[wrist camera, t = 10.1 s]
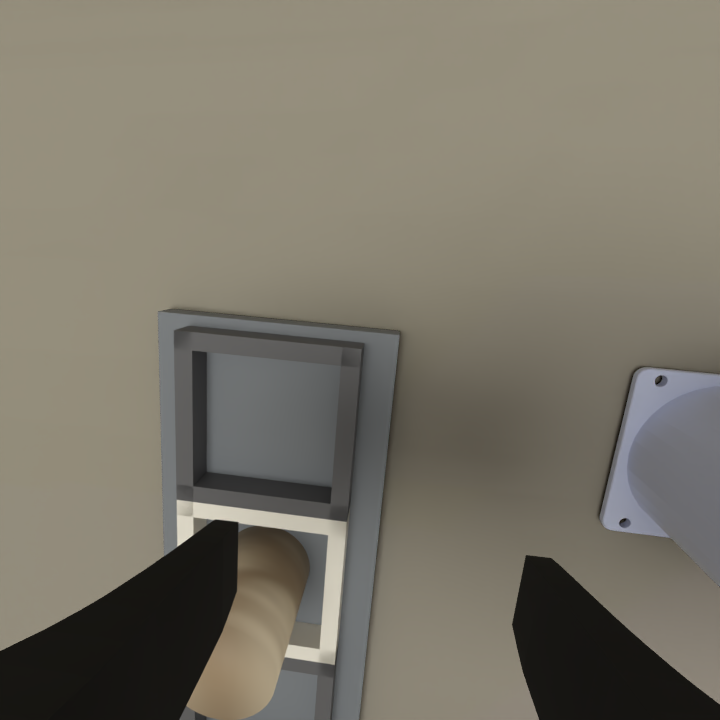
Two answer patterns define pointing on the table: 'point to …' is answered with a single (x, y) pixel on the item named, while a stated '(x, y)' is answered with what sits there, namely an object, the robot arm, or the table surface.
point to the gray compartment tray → (285, 472)
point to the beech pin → (254, 626)
